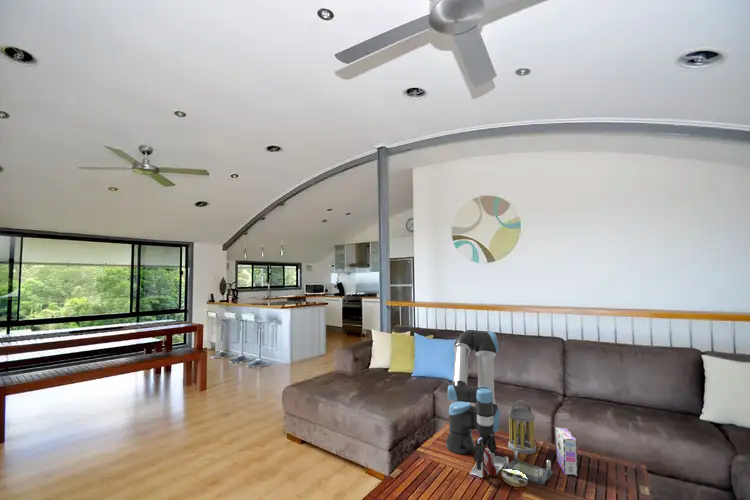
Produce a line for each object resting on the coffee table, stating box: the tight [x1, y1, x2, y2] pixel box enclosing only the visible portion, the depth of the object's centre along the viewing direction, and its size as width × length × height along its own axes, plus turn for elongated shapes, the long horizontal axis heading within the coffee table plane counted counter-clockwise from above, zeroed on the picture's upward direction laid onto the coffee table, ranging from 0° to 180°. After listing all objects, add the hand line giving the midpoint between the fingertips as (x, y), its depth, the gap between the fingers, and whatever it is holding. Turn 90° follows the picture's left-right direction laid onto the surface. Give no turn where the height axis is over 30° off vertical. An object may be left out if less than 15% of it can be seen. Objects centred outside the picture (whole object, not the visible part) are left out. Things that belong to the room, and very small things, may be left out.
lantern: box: [507, 399, 537, 455], centre depth 199 cm, size 14×14×25 cm
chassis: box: [502, 449, 554, 486], centre depth 174 cm, size 18×13×6 cm
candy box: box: [554, 427, 578, 477], centre depth 178 cm, size 14×6×16 cm, turn 168°
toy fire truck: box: [475, 449, 498, 478], centre depth 173 cm, size 7×12×10 cm, turn 1°
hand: (486, 471), depth 173 cm, fingers closed on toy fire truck, 11 cm apart
